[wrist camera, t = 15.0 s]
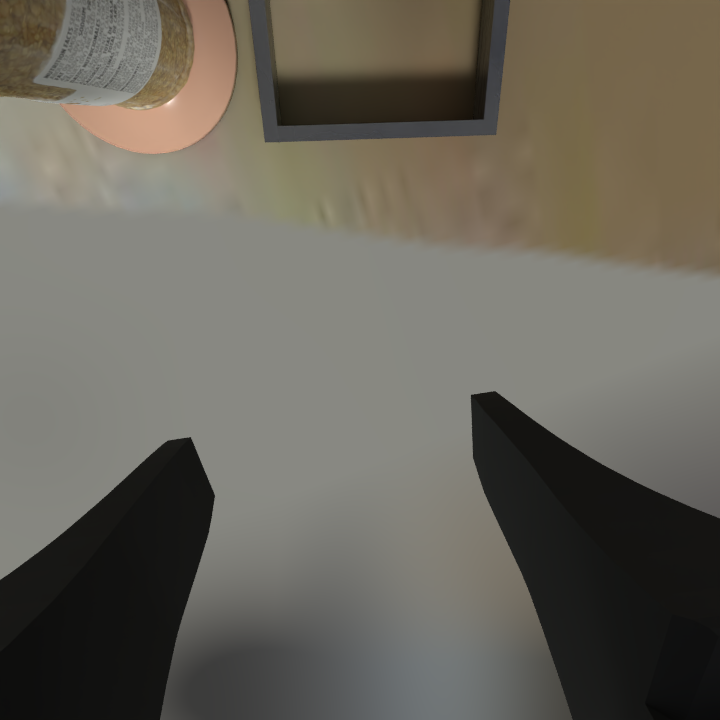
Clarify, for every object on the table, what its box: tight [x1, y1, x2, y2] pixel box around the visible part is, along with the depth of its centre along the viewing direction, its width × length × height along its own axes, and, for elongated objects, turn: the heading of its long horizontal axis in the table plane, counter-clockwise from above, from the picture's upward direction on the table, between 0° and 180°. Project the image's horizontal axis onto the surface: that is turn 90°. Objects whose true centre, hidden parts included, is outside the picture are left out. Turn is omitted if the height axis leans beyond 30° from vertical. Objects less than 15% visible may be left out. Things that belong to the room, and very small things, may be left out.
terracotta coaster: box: [59, 0, 238, 154], centre depth 15 cm, size 7×7×1 cm
